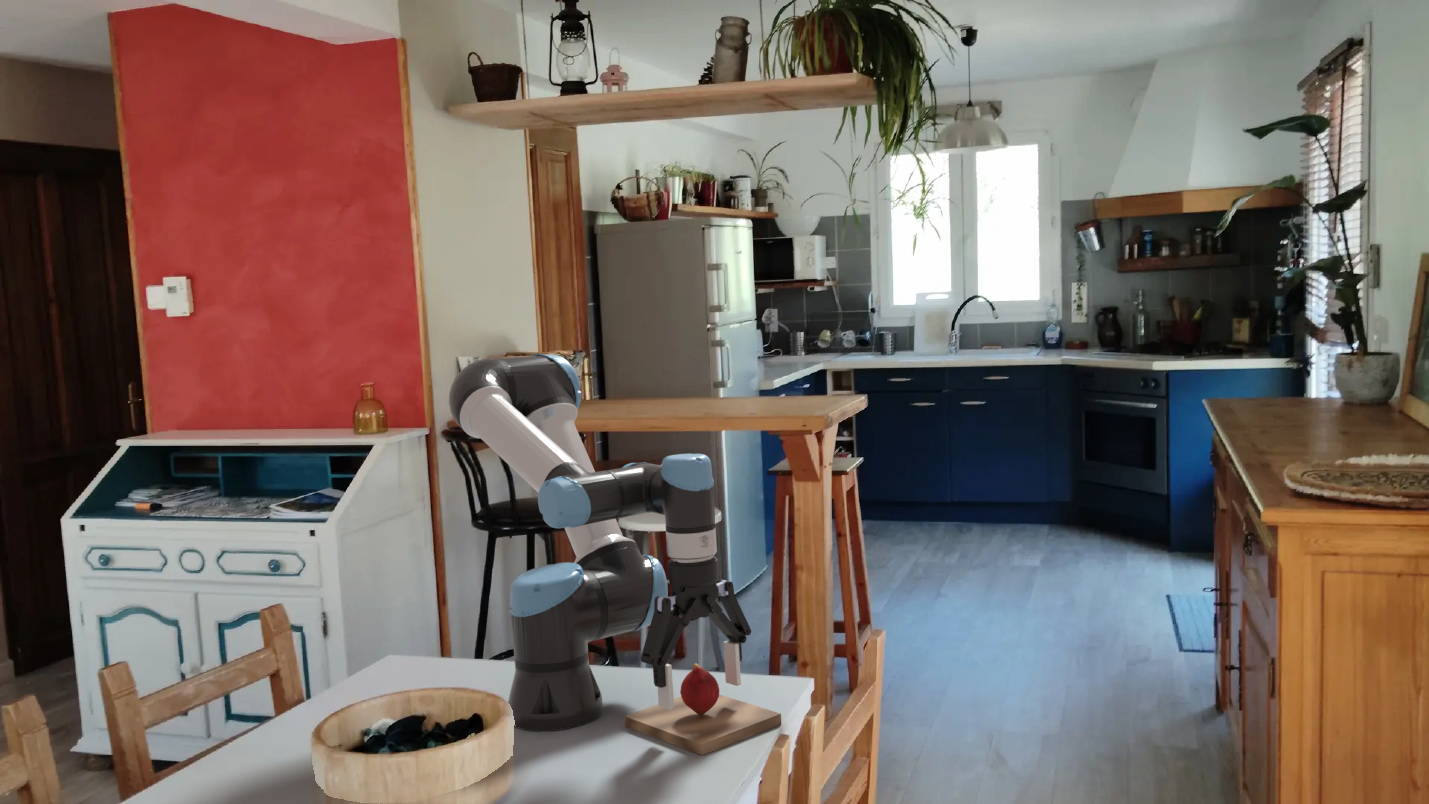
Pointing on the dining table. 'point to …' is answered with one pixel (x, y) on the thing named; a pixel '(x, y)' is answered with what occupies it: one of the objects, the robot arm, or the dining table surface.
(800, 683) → the dining table surface
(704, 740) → the chopping board
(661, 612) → the robot arm
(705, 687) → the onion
